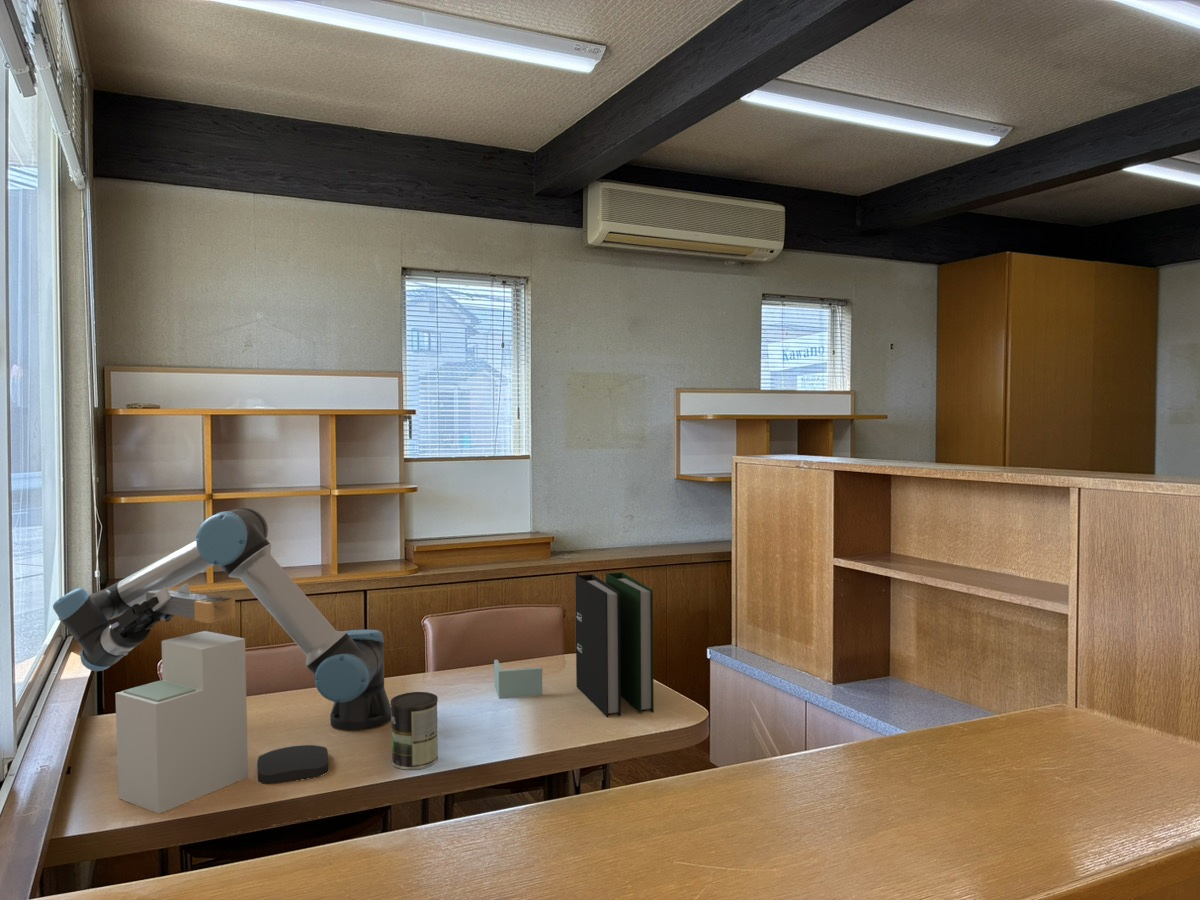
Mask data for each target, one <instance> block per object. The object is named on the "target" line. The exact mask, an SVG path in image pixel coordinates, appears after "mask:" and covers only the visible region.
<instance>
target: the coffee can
mask: <svg viewBox="0 0 1200 900" xmlns="http://www.w3.org/2000/svg"><path fill="white" fill-rule="evenodd" d="M438 701H439V697H438V696H437V695H436V694H434V693H432V692H428V691H427V692H426V691H411V692H405V693H401V694H399V695H395V696H394V697H393V698H391V699H390V706H391V720H390V721H391V765H392V766H393V767H394V768H396V769H399V770H403V769H404V770H405V771H414V770H415V771H417V770H422V769H426V768H429V767H431V766H434V765H435V764H436V763H437V762H438V761H439V751H438V750H439V749H438V748H439V747H438Z"/></svg>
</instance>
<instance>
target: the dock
mask: <svg viewBox="0 0 1200 900" xmlns="http://www.w3.org/2000/svg"><path fill="white" fill-rule="evenodd" d="M246 663H247V662H246V638H245V637H244V638H243V637H238V636H233V635H229V634H228V635H227V634H224V633H217V632H212V631H207V630H203V631H197V632H194V633H189V634H186V635H181V636H177V637H172V638H168V639H163V640H161V667H162V669H161V671H162V672H161V673H162V674H161V675H162V680H160V679H159V680H156V681H153V682H149V683H147V684H146V683H145V684H142V685H138V686H134V687H131V688H128V689H125V690H124V689H123V690H122V691H119V692H115V694H114V695H115V722H116V723H115V725H116V726H115V728H116V757H117V758H116V760H117V761H116V763H117V797H118V799H120V800H121V799H122V801H124V802H126V801H127V803H129V802H130V803H129V804H132V805H134V804H135V805H134V806H138V807H139V806H140V807H139V808H142V807H143V808H142V809H144V808H145V810H147V809H148V810H147V811H150V812H152V811H153V813H155V812H156V814H157V813H158V814H157V815H160V814H163V813H165V812H168V811H170V810H172V809H175V808H177V807H179V805H180V806H181V804H182V805H184V803H185V804H187V803H189V802H188V801H190V800H192V801H194V800H196V798H197V799H199V798H202V797H204V796H206V795H208V793H209V794H211V793H213V791H214V792H216V791H218V789H219V790H221V789H223V788H226V787H228V786H231V785H233V784H236V783H238V782H240V781H242V780H243V781H244V780H245V779H248V778H249V761H248V760H249V759H248V758H249V756H248V755H249V754H248V748H249V747H248V717H247V716H248V715H247V714H248V712H247V711H248V710H247V677H246V676H247V674H246V673H247V669H246V668H247V667H246V666H247V665H246ZM237 781H238V782H237ZM235 782H236V783H235ZM225 786H226V787H225ZM205 794H206V795H205ZM203 795H204V796H203ZM201 796H202V797H201ZM198 797H199V798H198ZM193 799H194V800H193ZM186 802H187V803H186ZM190 802H191V801H190ZM167 810H168V811H167ZM162 812H163V813H162Z"/></svg>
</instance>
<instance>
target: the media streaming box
mask: <svg viewBox="0 0 1200 900" xmlns="http://www.w3.org/2000/svg"><path fill="white" fill-rule="evenodd" d="M256 763H257V764H256V765H257V766H256V767H257V768H256V769H257V782H258V783H261V784H264V785H273V784H274V785H275V784H282V783H283V782H284V783H291V782H297V781H296V780H298V781H302V780H301V779H304V780H308V779H307V778H310V779H315V778H314V777H316V778H320V777H322V776H324V775H326V774H327V773H328V772H329V771H328V770H329V751H328V749H327V747H326V746H322V745H314V744H306V745H305V744H303V745H292V746H287V747H281V748H277V749H274V750H271V751H268V752H265V753H263V754H261V755H259V756H258V757H257V762H256ZM325 773H326V774H325ZM323 774H324V775H323ZM321 775H322V776H321ZM290 781H291V782H290Z"/></svg>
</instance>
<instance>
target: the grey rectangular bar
mask: <svg viewBox="0 0 1200 900" xmlns="http://www.w3.org/2000/svg"><path fill="white" fill-rule="evenodd" d="M160 590H161V589H160ZM160 590H154V591H149V592H146V601H148V600H149V599H151V598H152V597H153V596H154V595H155V594H157V593H158V592H159V591H160ZM168 591H169V593H170V596H171V599H170V600H168V601H167V602H166V603H165V604H163V605H162V606H161V607H160V608H159V609H157V610H156V611H155V612H160V613H166V614H171V615H174V616H176V617H177V616H178V617H182V618H189V619H194V621H196V622H199V623H206V624H212V623H216V622H217V623H218V622H221V621H226V620H227V621H228V620H231V619H235V618H236V598H234V597H233V598H232V597H227V596H226V597H225V596H220V595H219V596H210V595H204V594H198V593H192V592H191V593H186V592H180V591H176V590H174V589H168ZM151 611H153V610H152V609H151Z"/></svg>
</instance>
